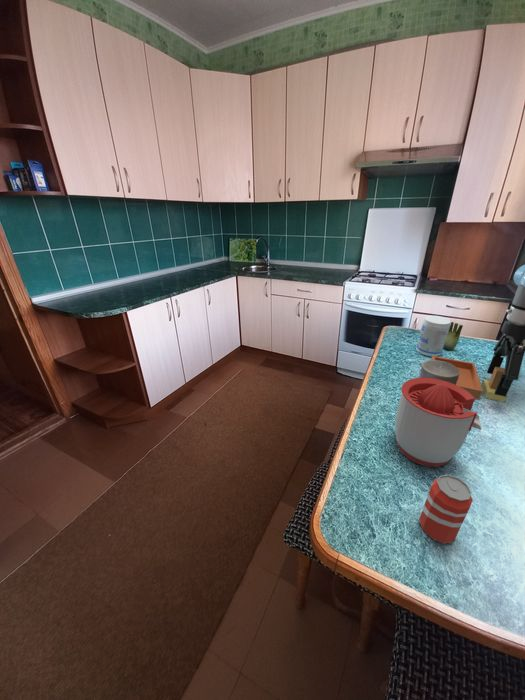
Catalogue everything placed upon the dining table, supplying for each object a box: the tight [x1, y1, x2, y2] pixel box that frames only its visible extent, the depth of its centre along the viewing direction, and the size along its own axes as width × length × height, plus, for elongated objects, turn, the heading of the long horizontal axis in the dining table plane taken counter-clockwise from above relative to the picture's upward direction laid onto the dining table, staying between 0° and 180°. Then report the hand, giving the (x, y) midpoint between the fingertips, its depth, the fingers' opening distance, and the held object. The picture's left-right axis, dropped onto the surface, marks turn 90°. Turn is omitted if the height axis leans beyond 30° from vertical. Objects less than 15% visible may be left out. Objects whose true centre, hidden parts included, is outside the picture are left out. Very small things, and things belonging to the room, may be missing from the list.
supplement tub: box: [415, 315, 452, 357], centre depth 118 cm, size 10×10×15 cm
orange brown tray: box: [431, 356, 483, 400], centre depth 102 cm, size 14×20×3 cm
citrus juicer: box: [394, 377, 483, 468], centre depth 69 cm, size 16×17×20 cm
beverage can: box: [418, 474, 473, 544], centre depth 54 cm, size 6×6×12 cm
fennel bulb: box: [443, 321, 464, 351], centre depth 122 cm, size 6×5×12 cm
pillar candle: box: [418, 359, 460, 385], centre depth 87 cm, size 10×10×15 cm
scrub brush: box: [481, 367, 508, 403], centre depth 93 cm, size 5×8×9 cm, turn 153°
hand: (495, 383), depth 93 cm, fingers open, 13 cm apart
